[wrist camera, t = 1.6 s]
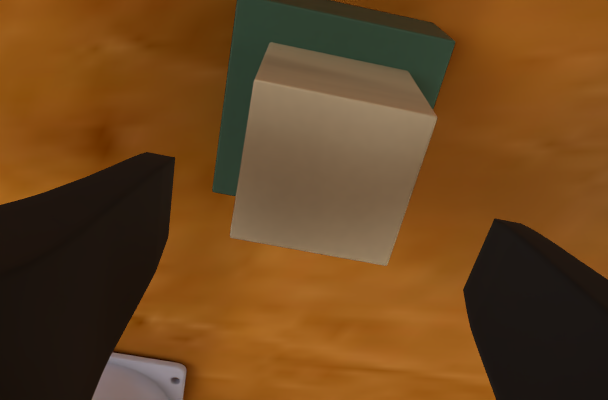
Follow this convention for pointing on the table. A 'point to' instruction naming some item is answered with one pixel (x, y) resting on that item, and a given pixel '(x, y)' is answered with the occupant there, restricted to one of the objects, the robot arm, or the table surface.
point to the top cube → (330, 154)
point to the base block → (326, 39)
